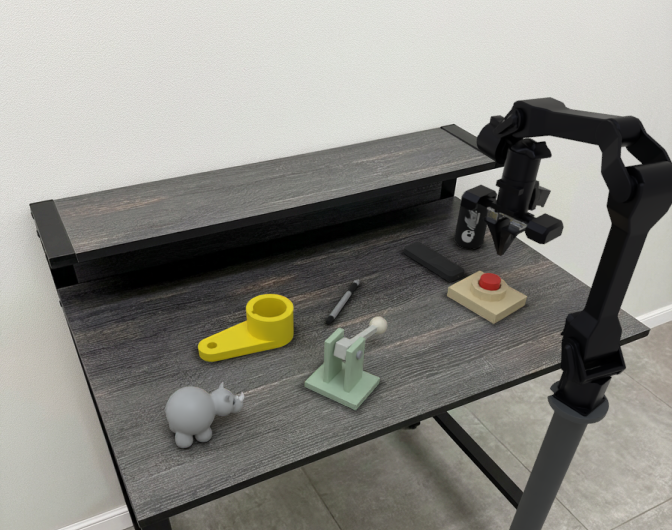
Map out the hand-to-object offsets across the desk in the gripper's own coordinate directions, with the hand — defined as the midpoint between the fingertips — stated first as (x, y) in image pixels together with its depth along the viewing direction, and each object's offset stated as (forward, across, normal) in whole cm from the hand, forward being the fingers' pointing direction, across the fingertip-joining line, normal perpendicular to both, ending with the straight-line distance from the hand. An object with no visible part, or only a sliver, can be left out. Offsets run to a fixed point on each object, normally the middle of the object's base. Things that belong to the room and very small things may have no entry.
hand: (500, 254), depth 117 cm
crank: (+12, +20, +44) cm, 50 cm away
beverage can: (+12, +18, -16) cm, 27 cm away
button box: (+12, +1, -1) cm, 12 cm away
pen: (+12, +18, +22) cm, 31 cm away
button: (+8, +1, -1) cm, 8 cm away
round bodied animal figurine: (+12, +6, +61) cm, 63 cm away
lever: (+7, +2, +33) cm, 34 cm away
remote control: (+12, +17, -3) cm, 21 cm away
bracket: (+12, +1, +38) cm, 40 cm away
